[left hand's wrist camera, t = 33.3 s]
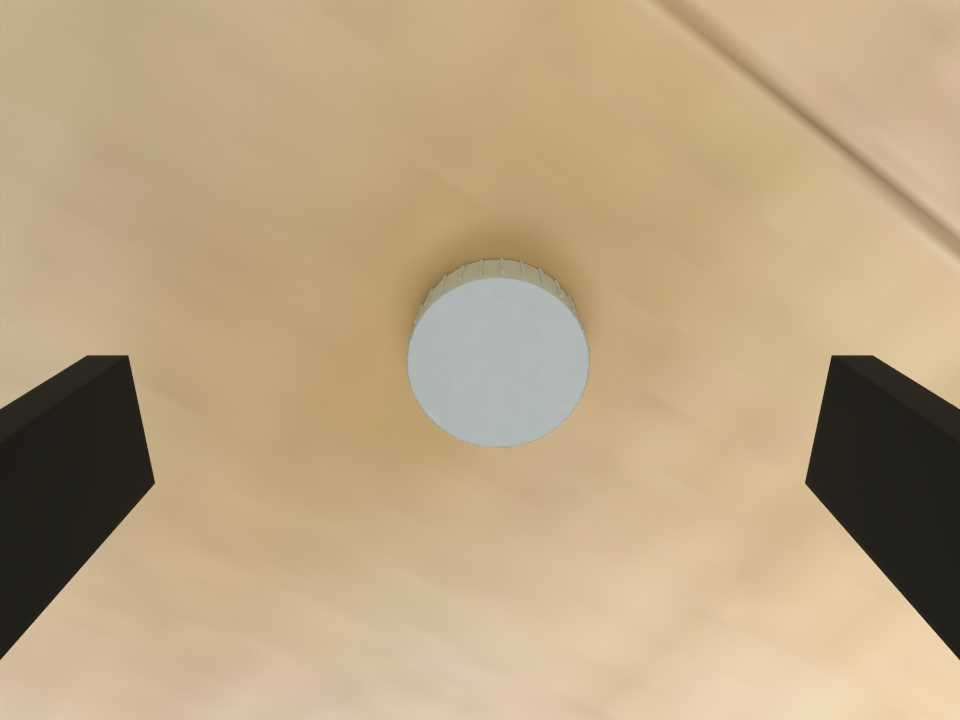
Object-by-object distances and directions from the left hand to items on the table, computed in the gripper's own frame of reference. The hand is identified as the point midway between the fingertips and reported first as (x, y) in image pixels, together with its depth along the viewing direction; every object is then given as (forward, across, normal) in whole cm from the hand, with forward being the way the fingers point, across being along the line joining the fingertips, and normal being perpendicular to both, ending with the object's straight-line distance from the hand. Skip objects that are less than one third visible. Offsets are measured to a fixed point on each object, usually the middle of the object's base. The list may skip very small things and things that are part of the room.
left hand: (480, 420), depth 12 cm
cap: (+4, 0, 0) cm, 4 cm away
